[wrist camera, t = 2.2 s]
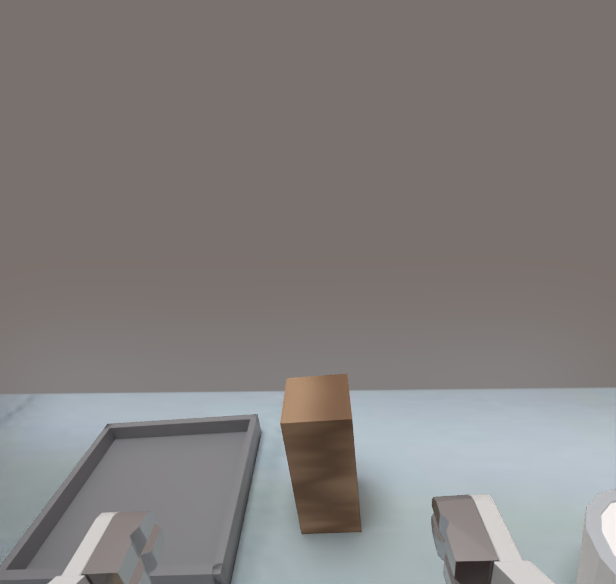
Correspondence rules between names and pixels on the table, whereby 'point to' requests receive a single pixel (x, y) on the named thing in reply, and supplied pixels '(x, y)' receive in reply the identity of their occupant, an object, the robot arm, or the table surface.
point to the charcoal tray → (152, 498)
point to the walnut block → (321, 453)
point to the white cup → (599, 541)
